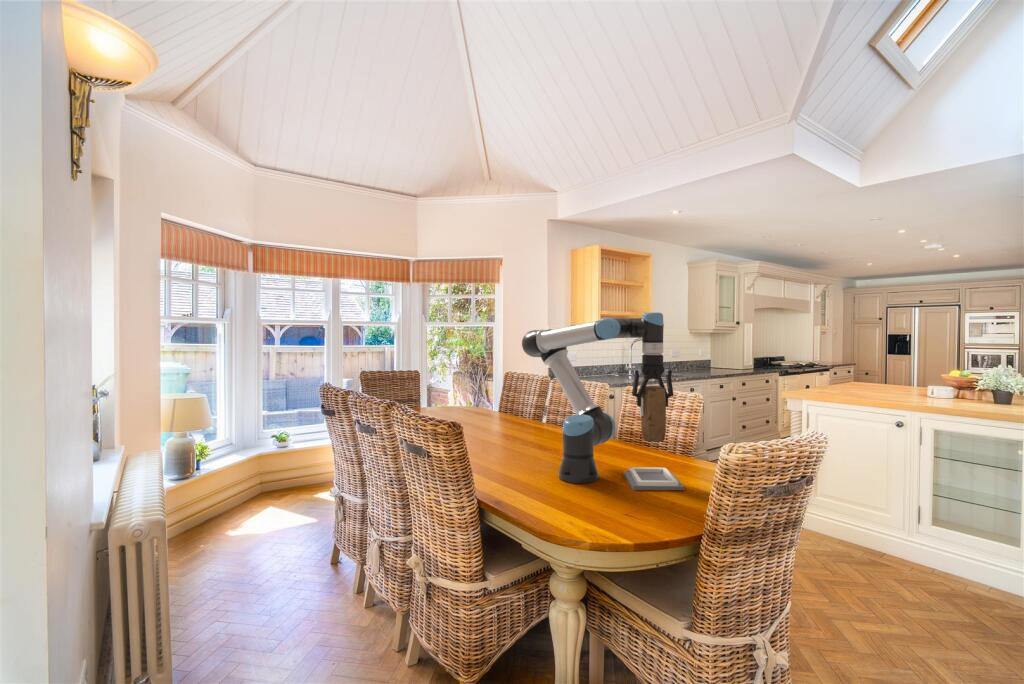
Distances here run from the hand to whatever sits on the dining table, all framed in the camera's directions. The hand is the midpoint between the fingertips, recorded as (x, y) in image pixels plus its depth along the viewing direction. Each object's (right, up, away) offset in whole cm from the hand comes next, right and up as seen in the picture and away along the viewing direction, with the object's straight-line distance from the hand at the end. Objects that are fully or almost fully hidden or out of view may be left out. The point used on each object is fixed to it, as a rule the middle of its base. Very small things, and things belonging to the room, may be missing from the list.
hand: (652, 415), depth 175 cm
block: (0, -9, 0) cm, 9 cm away
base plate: (0, -25, 0) cm, 25 cm away
